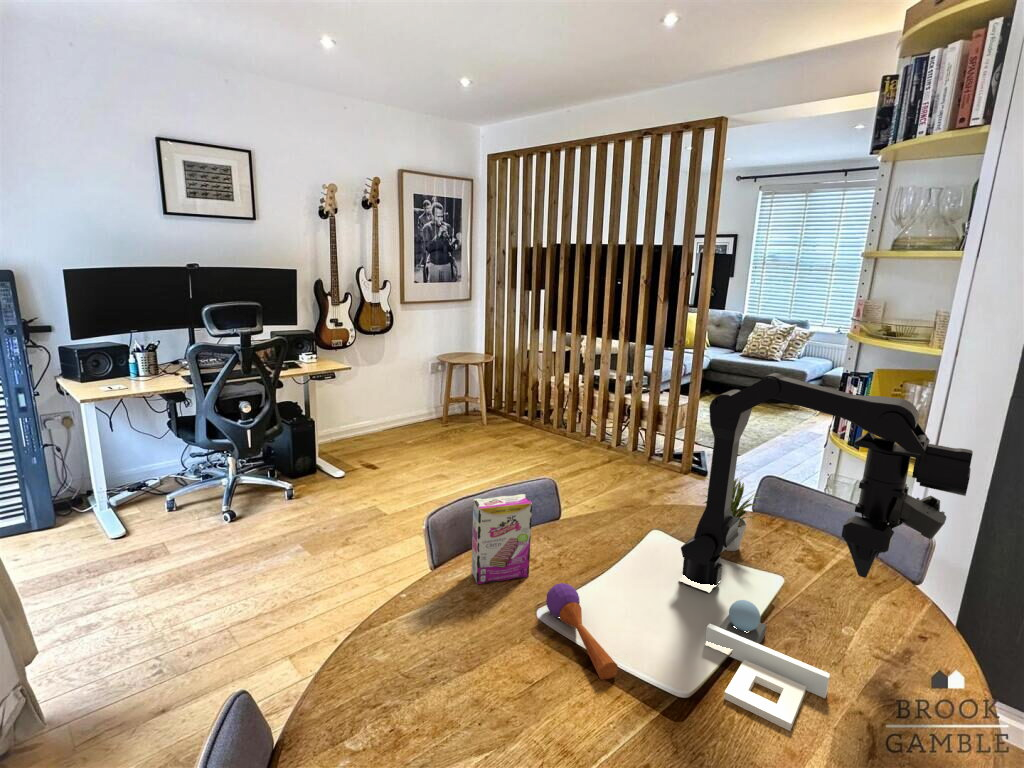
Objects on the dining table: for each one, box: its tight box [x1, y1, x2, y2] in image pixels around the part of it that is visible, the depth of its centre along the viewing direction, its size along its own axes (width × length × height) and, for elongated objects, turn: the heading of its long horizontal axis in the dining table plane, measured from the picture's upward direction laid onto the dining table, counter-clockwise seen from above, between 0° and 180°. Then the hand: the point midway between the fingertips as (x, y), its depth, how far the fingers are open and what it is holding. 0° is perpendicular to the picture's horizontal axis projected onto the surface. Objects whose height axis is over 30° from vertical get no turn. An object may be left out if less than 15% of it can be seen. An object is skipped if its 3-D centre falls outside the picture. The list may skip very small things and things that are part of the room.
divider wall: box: [705, 623, 831, 699], centre depth 88 cm, size 18×1×4 cm, turn 51°
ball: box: [728, 599, 761, 632], centre depth 95 cm, size 5×5×5 cm
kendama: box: [545, 582, 619, 681], centre depth 94 cm, size 6×6×20 cm
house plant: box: [701, 476, 760, 552], centre depth 127 cm, size 14×14×16 cm
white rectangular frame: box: [723, 660, 807, 732], centre depth 82 cm, size 9×9×1 cm
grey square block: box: [719, 614, 767, 645], centre depth 96 cm, size 6×6×2 cm
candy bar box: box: [471, 493, 533, 585], centre depth 111 cm, size 11×5×16 cm, turn 108°
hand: (868, 565), depth 92 cm, fingers open, 9 cm apart
